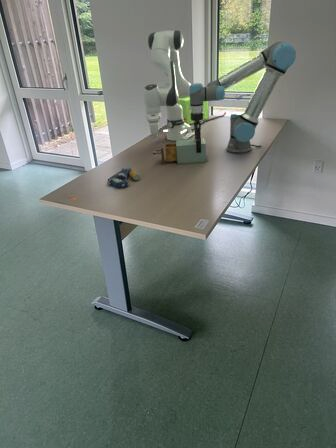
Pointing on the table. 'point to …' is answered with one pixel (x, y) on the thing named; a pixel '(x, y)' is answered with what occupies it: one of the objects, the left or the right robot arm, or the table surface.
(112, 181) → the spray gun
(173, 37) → the left robot arm
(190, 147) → the green drawer cabinet
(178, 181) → the table surface
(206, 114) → the lime green box
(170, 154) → the drawer
